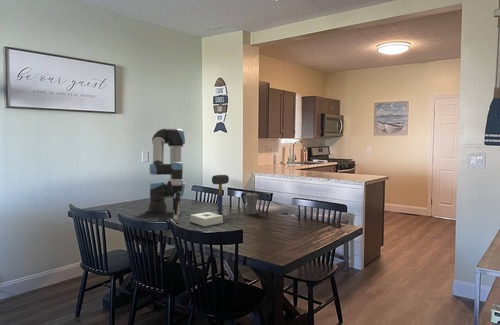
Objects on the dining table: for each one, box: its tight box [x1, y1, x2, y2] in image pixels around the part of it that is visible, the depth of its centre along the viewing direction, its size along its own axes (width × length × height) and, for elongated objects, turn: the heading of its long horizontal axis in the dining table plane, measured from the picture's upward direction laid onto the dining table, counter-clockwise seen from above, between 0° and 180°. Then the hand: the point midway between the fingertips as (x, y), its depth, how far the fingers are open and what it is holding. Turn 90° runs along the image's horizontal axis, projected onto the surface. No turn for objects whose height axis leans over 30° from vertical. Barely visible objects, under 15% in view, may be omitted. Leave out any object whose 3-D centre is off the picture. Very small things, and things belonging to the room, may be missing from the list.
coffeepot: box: [240, 190, 260, 215], centre depth 289 cm, size 15×9×18 cm, turn 65°
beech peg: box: [172, 201, 181, 224], centre depth 254 cm, size 4×4×14 cm
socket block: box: [189, 211, 224, 227], centre depth 256 cm, size 16×16×5 cm
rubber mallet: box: [211, 174, 230, 214], centre depth 287 cm, size 12×8×30 cm, turn 129°
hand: (176, 218), depth 255 cm, fingers closed on beech peg, 4 cm apart
